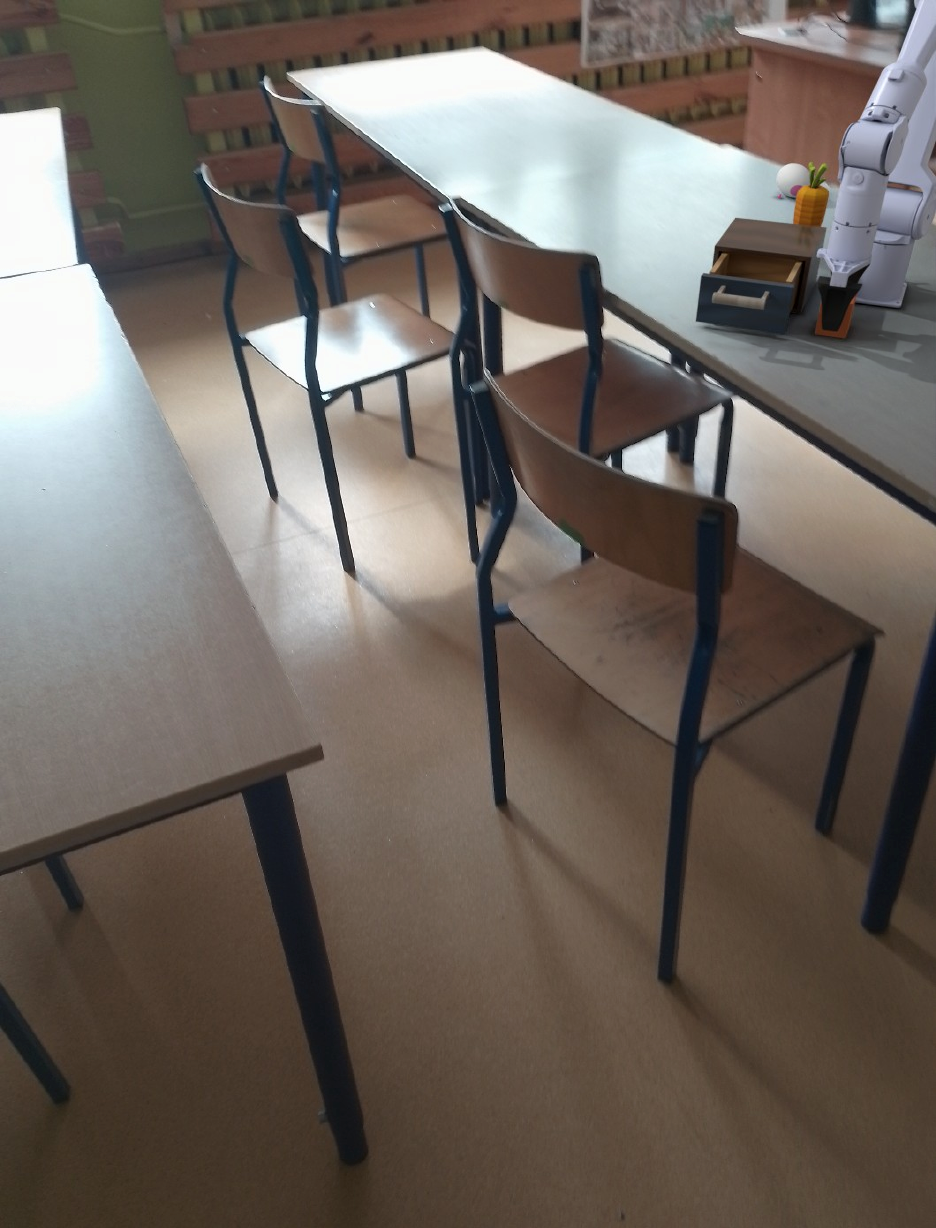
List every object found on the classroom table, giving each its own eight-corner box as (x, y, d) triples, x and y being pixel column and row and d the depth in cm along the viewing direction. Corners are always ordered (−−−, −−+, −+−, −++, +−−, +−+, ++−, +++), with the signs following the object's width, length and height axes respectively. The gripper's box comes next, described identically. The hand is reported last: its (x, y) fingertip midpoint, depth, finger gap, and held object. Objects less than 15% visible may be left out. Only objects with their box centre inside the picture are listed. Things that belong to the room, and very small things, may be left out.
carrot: (783, 253, 164) (800, 157, 154) (814, 254, 163) (833, 157, 154) (787, 264, 160) (804, 166, 150) (818, 264, 159) (837, 166, 150)
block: (819, 323, 142) (826, 289, 139) (849, 327, 141) (857, 293, 137) (814, 334, 139) (821, 299, 136) (845, 338, 138) (853, 304, 134)
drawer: (778, 348, 134) (786, 300, 130) (687, 334, 138) (692, 287, 134) (800, 302, 146) (809, 256, 142) (715, 290, 150) (721, 246, 146)
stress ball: (806, 218, 187) (831, 186, 184) (780, 198, 182) (804, 164, 179) (786, 205, 192) (809, 173, 189) (760, 184, 188) (783, 152, 185)
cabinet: (800, 314, 144) (811, 257, 139) (707, 301, 149) (714, 245, 144) (815, 282, 154) (826, 227, 148) (727, 271, 158) (735, 217, 153)
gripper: (833, 201, 136) (813, 297, 145) (815, 234, 126) (796, 335, 135) (886, 206, 134) (863, 303, 143) (873, 240, 124) (849, 342, 133)
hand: (834, 319), depth 139 cm, fingers open, 7 cm apart
